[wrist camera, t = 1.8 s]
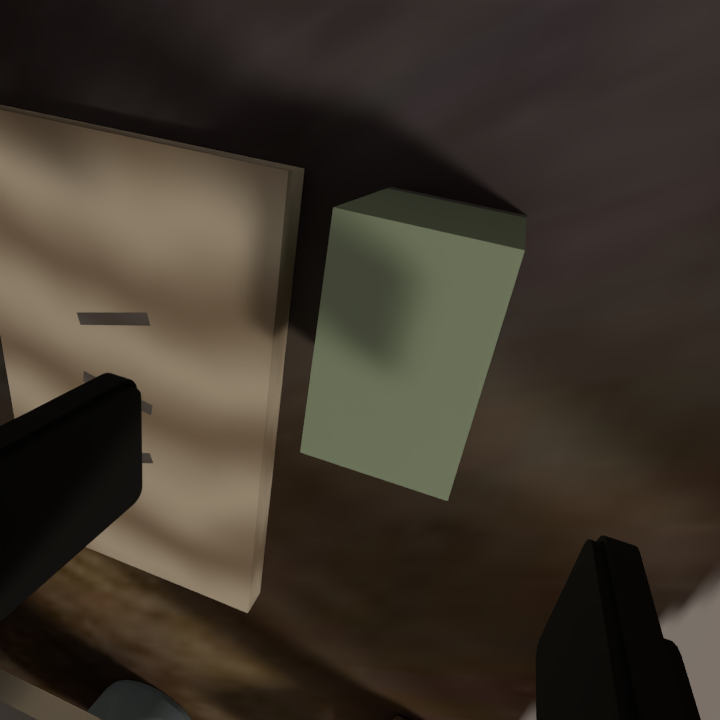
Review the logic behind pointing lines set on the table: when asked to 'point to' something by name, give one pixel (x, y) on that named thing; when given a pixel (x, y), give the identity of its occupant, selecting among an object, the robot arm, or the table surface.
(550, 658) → the robot arm
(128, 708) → the blue cup
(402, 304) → the block
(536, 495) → the table surface
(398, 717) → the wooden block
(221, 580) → the birch board
